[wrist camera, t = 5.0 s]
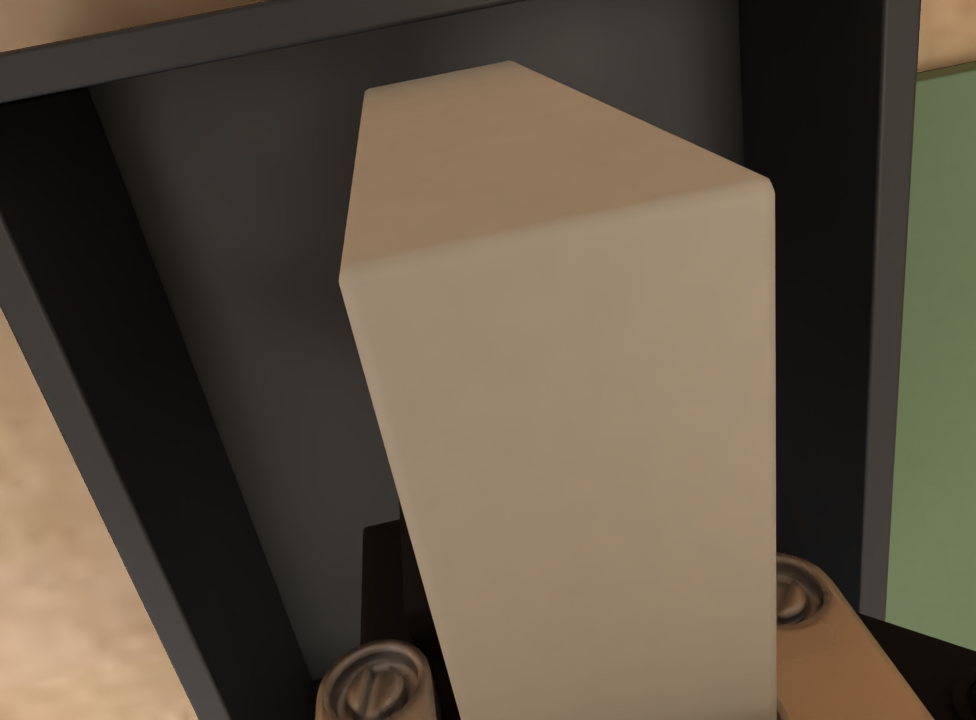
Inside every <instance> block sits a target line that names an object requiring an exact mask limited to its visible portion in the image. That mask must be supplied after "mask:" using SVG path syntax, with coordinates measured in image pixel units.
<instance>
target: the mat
mask: <svg viewBox="0 0 976 720" xmlns="http://www.w3.org/2000/svg"><path fill="white" fill-rule="evenodd" d="M885 622H888V623H891V624H894V625H897V626H900V627H903V628H906V629H909V630H913V631H916V632H919V633H922V634H925V635H928V636H931V637H934V638H937V639H940V640H943V641H946V642H949V643H952V644H955V645H958V646H961V647H964V648H968V649H971V650H974V651H976V61H975V62H970V63H966V64H961V65H956V66H951V67H946V68H941V69H936V70H931V71H926V72H922V73H917V80H916V97H915V114H914V132H913V149H912V166H911V184H910V201H909V218H908V236H907V253H906V270H905V288H904V305H903V322H902V340H901V357H900V374H899V392H898V409H897V426H896V444H895V461H894V478H893V495H892V513H891V530H890V547H889V565H888V582H887V599H886V617H885Z"/></svg>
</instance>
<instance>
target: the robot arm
mask: <svg viewBox="0 0 976 720" xmlns="http://www.w3.org/2000/svg"><path fill="white" fill-rule="evenodd" d="M399 510H400V519H398V520H394V521H390V522H385V523H381V524H376V525H372V526H367V527H365V528H364V530H363V553H362V594H361V635H360V646H357V647H355V648H354V649H352V650H351V651H349V652H347V653H346V654H344V655H343V656H341V657H340V658H339V659H338V660H337V661H336V662H335V663H334V664H333V665H332V666H331V667H330V668H329V669H328V671H327V673H326V674H325V676H324V678H323V680H322V681H321V683H320V686H319V690H318V694H317V699H316V716H315V720H461V718H460V714H459V711H458V707H457V703H456V700H455V696H454V693H453V689H452V686H451V682H450V678H449V675H448V671H447V668H446V664H445V661H444V657H443V653H442V650H441V646H440V643H439V639H438V636H437V632H436V628H435V625H434V621H433V618H432V614H431V610H430V607H429V603H428V600H427V596H426V593H425V589H424V585H423V582H422V578H421V575H420V571H419V568H418V564H417V560H416V557H415V553H414V550H413V546H412V543H411V539H410V535H409V532H408V528H407V525H406V521H405V517H404V514H403V510H402V507H401V503H400V500H399ZM776 661H777V720H976V651H974V650H971V649H968V648H964V647H961V646H958V645H955V644H952V643H949V642H946V641H943V640H940V639H937V638H934V637H931V636H928V635H925V634H922V633H919V632H916V631H913V630H909V629H906V628H903V627H900V626H897V625H894V624H891V623H888V622H885V621H882V620H879V619H876V618H873V617H870V616H867V615H864V614H861V613H858V612H855V611H854V610H853V608H852V607H851V606H850V604H849V603H848V601H847V600H846V599H845V597H844V596H843V595H842V593H841V592H840V591H839V589H838V588H837V587H836V585H835V584H834V582H833V581H832V580H831V579H830V578H829V577H828V576H827V575H826V574H825V573H824V572H823V571H822V570H821V569H820V568H819V567H818V566H816V565H814V564H813V563H811V562H809V561H807V560H806V559H803V558H800V557H797V556H794V555H791V554H788V553H780V552H776Z"/></svg>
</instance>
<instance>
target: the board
mask: <svg viewBox="0 0 976 720" xmlns="http://www.w3.org/2000/svg"><path fill="white" fill-rule="evenodd" d="M339 285H340V289H341V292H342V296H343V299H344V303H345V306H346V310H347V314H348V317H349V321H350V324H351V328H352V331H353V335H354V339H355V342H356V346H357V349H358V353H359V357H360V360H361V364H362V367H363V371H364V374H365V378H366V382H367V385H368V389H369V392H370V396H371V399H372V403H373V407H374V410H375V414H376V417H377V421H378V424H379V428H380V432H381V435H382V439H383V442H384V446H385V450H386V453H387V457H388V460H389V464H390V467H391V471H392V475H393V478H394V482H395V485H396V489H397V492H398V496H399V500H400V503H401V507H402V510H403V514H404V517H405V521H406V525H407V528H408V532H409V535H410V539H411V543H412V546H413V550H414V553H415V557H416V560H417V564H418V568H419V571H420V575H421V578H422V582H423V585H424V589H425V593H426V596H427V600H428V603H429V607H430V610H431V614H432V618H433V621H434V625H435V628H436V632H437V636H438V639H439V643H440V646H441V650H442V653H443V657H444V661H445V664H446V668H447V671H448V675H449V678H450V682H451V686H452V689H453V693H454V696H455V700H456V703H457V707H458V711H459V714H460V718H461V720H777V661H776V348H775V192H774V189H773V186H772V184H771V182H770V180H769V178H767V177H765V176H763V175H760V174H758V173H756V172H754V171H752V170H749V169H747V168H745V167H743V166H741V165H738V164H736V163H734V162H732V161H730V160H728V159H725V158H723V157H721V156H719V155H717V154H714V153H712V152H710V151H708V150H706V149H704V148H701V147H699V146H697V145H695V144H693V143H690V142H688V141H686V140H684V139H682V138H679V137H677V136H675V135H673V134H671V133H669V132H666V131H664V130H662V129H660V128H658V127H655V126H653V125H651V124H649V123H647V122H644V121H642V120H640V119H638V118H636V117H634V116H631V115H629V114H627V113H625V112H623V111H620V110H618V109H616V108H614V107H612V106H609V105H607V104H605V103H603V102H601V101H599V100H596V99H594V98H592V97H590V96H588V95H585V94H583V93H581V92H579V91H577V90H574V89H572V88H570V87H568V86H566V85H564V84H561V83H559V82H557V81H555V80H553V79H550V78H548V77H546V76H544V75H542V74H539V73H537V72H535V71H533V70H531V69H529V68H526V67H524V66H522V65H520V64H518V63H515V62H513V61H504V62H499V63H494V64H489V65H484V66H479V67H474V68H469V69H464V70H459V71H454V72H449V73H444V74H439V75H434V76H429V77H424V78H419V79H414V80H409V81H404V82H399V83H394V84H389V85H384V86H379V87H374V88H369V89H367V90H366V91H365V93H364V100H363V107H362V114H361V121H360V129H359V136H358V143H357V151H356V158H355V165H354V173H353V180H352V187H351V194H350V202H349V209H348V216H347V224H346V231H345V238H344V246H343V253H342V260H341V267H340V275H339Z"/></svg>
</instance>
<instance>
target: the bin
mask: <svg viewBox="0 0 976 720" xmlns="http://www.w3.org/2000/svg"><path fill="white" fill-rule="evenodd" d="M920 11H921V0H270V1H264V2H259V3H254V4H249V5H244V6H238V7H233V8H228V9H223V10H218V11H213V12H207V13H202V14H197V15H192V16H187V17H182V18H176V19H171V20H166V21H161V22H156V23H151V24H145V25H140V26H135V27H130V28H125V29H120V30H114V31H109V32H104V33H99V34H94V35H88V36H83V37H78V38H73V39H68V40H63V41H57V42H52V43H47V44H42V45H37V46H32V47H26V48H21V49H16V50H11V51H6V52H1V53H0V307H1V309H2V311H3V313H4V315H5V317H6V319H7V321H8V323H9V325H10V327H11V330H12V332H13V334H14V336H15V338H16V340H17V342H18V344H19V346H20V348H21V350H22V352H23V355H24V357H25V359H26V361H27V363H28V365H29V367H30V369H31V371H32V373H33V375H34V377H35V380H36V382H37V384H38V386H39V388H40V390H41V392H42V394H43V396H44V398H45V400H46V402H47V405H48V407H49V409H50V411H51V413H52V415H53V417H54V419H55V421H56V423H57V425H58V427H59V430H60V432H61V434H62V436H63V438H64V440H65V442H66V444H67V446H68V448H69V450H70V452H71V454H72V457H73V459H74V461H75V463H76V465H77V467H78V469H79V471H80V473H81V475H82V477H83V479H84V482H85V484H86V486H87V488H88V490H89V492H90V494H91V496H92V498H93V500H94V502H95V504H96V507H97V509H98V511H99V513H100V515H101V517H102V519H103V521H104V523H105V525H106V527H107V529H108V532H109V534H110V536H111V538H112V540H113V542H114V544H115V546H116V548H117V550H118V552H119V554H120V557H121V559H122V561H123V563H124V565H125V567H126V569H127V571H128V573H129V575H130V577H131V579H132V582H133V584H134V586H135V588H136V590H137V592H138V594H139V596H140V598H141V600H142V602H143V604H144V607H145V609H146V611H147V613H148V615H149V617H150V619H151V621H152V623H153V625H154V627H155V629H156V631H157V634H158V636H159V638H160V640H161V642H162V644H163V646H164V648H165V650H166V652H167V654H168V656H169V659H170V661H171V663H172V665H173V667H174V669H175V671H176V673H177V675H178V677H179V679H180V681H181V684H182V686H183V688H184V690H185V692H186V694H187V696H188V698H189V700H190V702H191V704H192V706H193V709H194V711H195V713H196V715H197V717H198V719H199V720H315V716H316V699H317V694H318V690H319V686H320V683H321V681H322V680H323V678H324V676H325V674H326V673H327V671H328V669H329V668H330V667H331V666H332V665H333V664H334V663H335V662H336V661H337V660H338V659H339V658H340V657H341V656H343V655H344V654H346V653H347V652H349V651H351V650H352V649H354V648H355V647H357V646H360V635H361V594H362V553H363V530H364V528H365V527H367V526H372V525H376V524H381V523H385V522H390V521H394V520H398V519H400V510H399V496H398V492H397V489H396V485H395V482H394V478H393V475H392V471H391V467H390V464H389V460H388V457H387V453H386V450H385V446H384V442H383V439H382V435H381V432H380V428H379V424H378V421H377V417H376V414H375V410H374V407H373V403H372V399H371V396H370V392H369V389H368V385H367V382H366V378H365V374H364V371H363V367H362V364H361V360H360V357H359V353H358V349H357V346H356V342H355V339H354V335H353V331H352V328H351V324H350V321H349V317H348V314H347V310H346V306H345V303H344V299H343V296H342V292H341V289H340V285H339V275H340V267H341V260H342V253H343V246H344V238H345V231H346V224H347V216H348V209H349V202H350V194H351V187H352V180H353V173H354V165H355V158H356V151H357V143H358V136H359V129H360V121H361V114H362V107H363V100H364V93H365V91H366V90H367V89H369V88H374V87H379V86H384V85H389V84H394V83H399V82H404V81H409V80H414V79H419V78H424V77H429V76H434V75H439V74H444V73H449V72H454V71H459V70H464V69H469V68H474V67H479V66H484V65H489V64H494V63H499V62H504V61H513V62H515V63H518V64H520V65H522V66H524V67H526V68H529V69H531V70H533V71H535V72H537V73H539V74H542V75H544V76H546V77H548V78H550V79H553V80H555V81H557V82H559V83H561V84H564V85H566V86H568V87H570V88H572V89H574V90H577V91H579V92H581V93H583V94H585V95H588V96H590V97H592V98H594V99H596V100H599V101H601V102H603V103H605V104H607V105H609V106H612V107H614V108H616V109H618V110H620V111H623V112H625V113H627V114H629V115H631V116H634V117H636V118H638V119H640V120H642V121H644V122H647V123H649V124H651V125H653V126H655V127H658V128H660V129H662V130H664V131H666V132H669V133H671V134H673V135H675V136H677V137H679V138H682V139H684V140H686V141H688V142H690V143H693V144H695V145H697V146H699V147H701V148H704V149H706V150H708V151H710V152H712V153H714V154H717V155H719V156H721V157H723V158H725V159H728V160H730V161H732V162H734V163H736V164H738V165H741V166H743V167H745V168H747V169H749V170H752V171H754V172H756V173H758V174H760V175H763V176H765V177H767V178H769V180H770V182H771V184H772V186H773V189H774V192H775V348H776V552H780V553H788V554H791V555H794V556H797V557H800V558H803V559H806V560H807V561H809V562H811V563H813V564H814V565H816V566H818V567H819V568H820V569H821V570H822V571H823V572H824V573H825V574H826V575H827V576H828V577H829V578H830V579H831V580H832V581H833V582H834V584H835V585H836V587H837V588H838V589H839V591H840V592H841V593H842V595H843V596H844V597H845V599H846V600H847V601H848V603H849V604H850V606H851V607H852V608H853V610H854V611H855V612H858V613H861V614H864V615H867V616H870V617H873V618H876V619H879V620H882V621H885V617H886V599H887V582H888V565H889V547H890V530H891V513H892V495H893V478H894V461H895V444H896V426H897V409H898V392H899V374H900V357H901V340H902V322H903V305H904V288H905V270H906V253H907V236H908V218H909V201H910V184H911V166H912V149H913V132H914V114H915V97H916V80H917V62H918V45H919V28H920Z"/></svg>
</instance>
